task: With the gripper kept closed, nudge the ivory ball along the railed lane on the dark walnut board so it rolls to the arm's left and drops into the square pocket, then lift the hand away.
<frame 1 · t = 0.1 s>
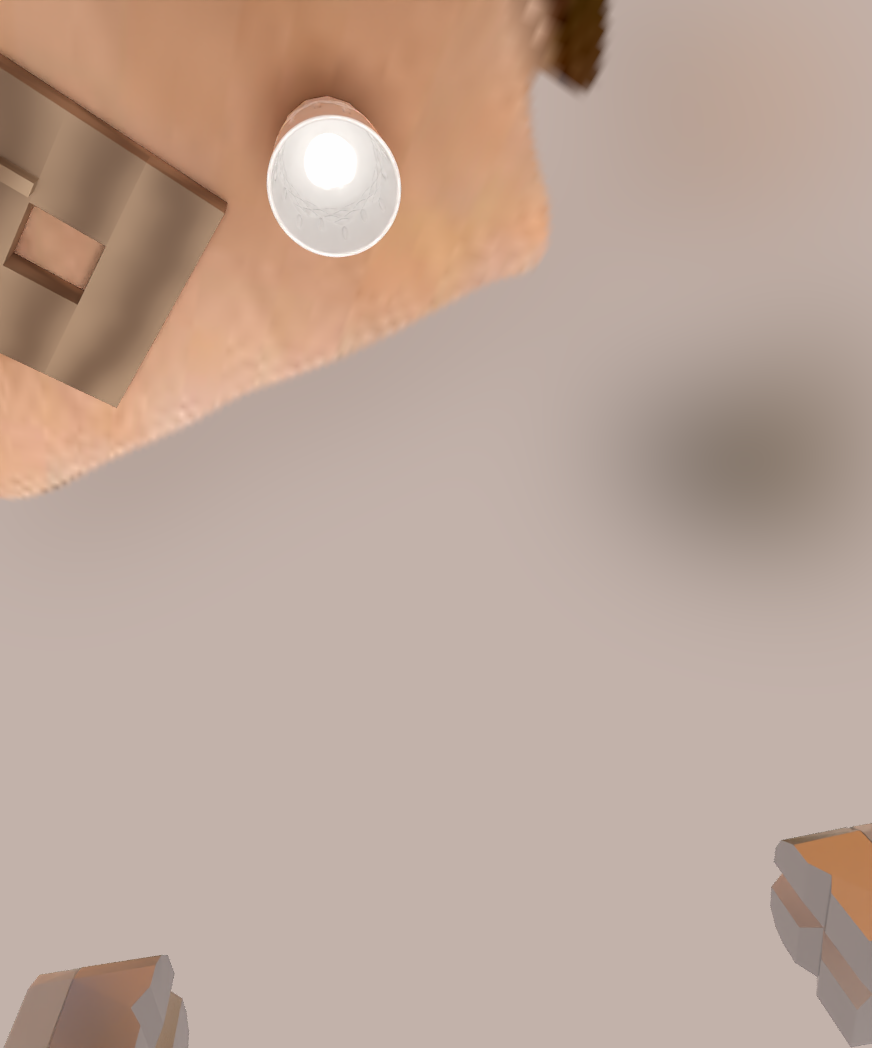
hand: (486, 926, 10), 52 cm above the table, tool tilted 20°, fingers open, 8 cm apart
white cup: (327, 150, 50), on the table
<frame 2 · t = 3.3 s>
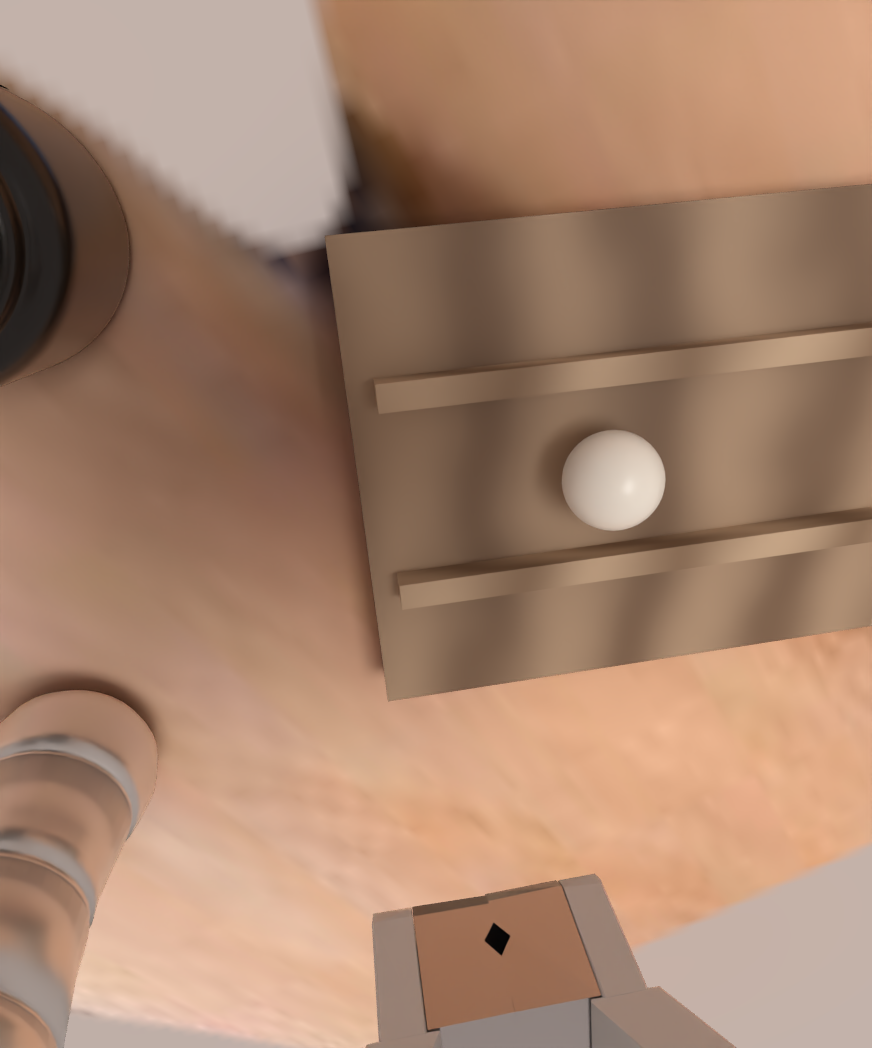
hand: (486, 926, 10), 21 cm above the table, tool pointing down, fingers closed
ball: (612, 480, 26), point 4 cm above the table, touching board
board: (735, 429, 30), on the table
plastic bottle: (91, 730, 32), on the table
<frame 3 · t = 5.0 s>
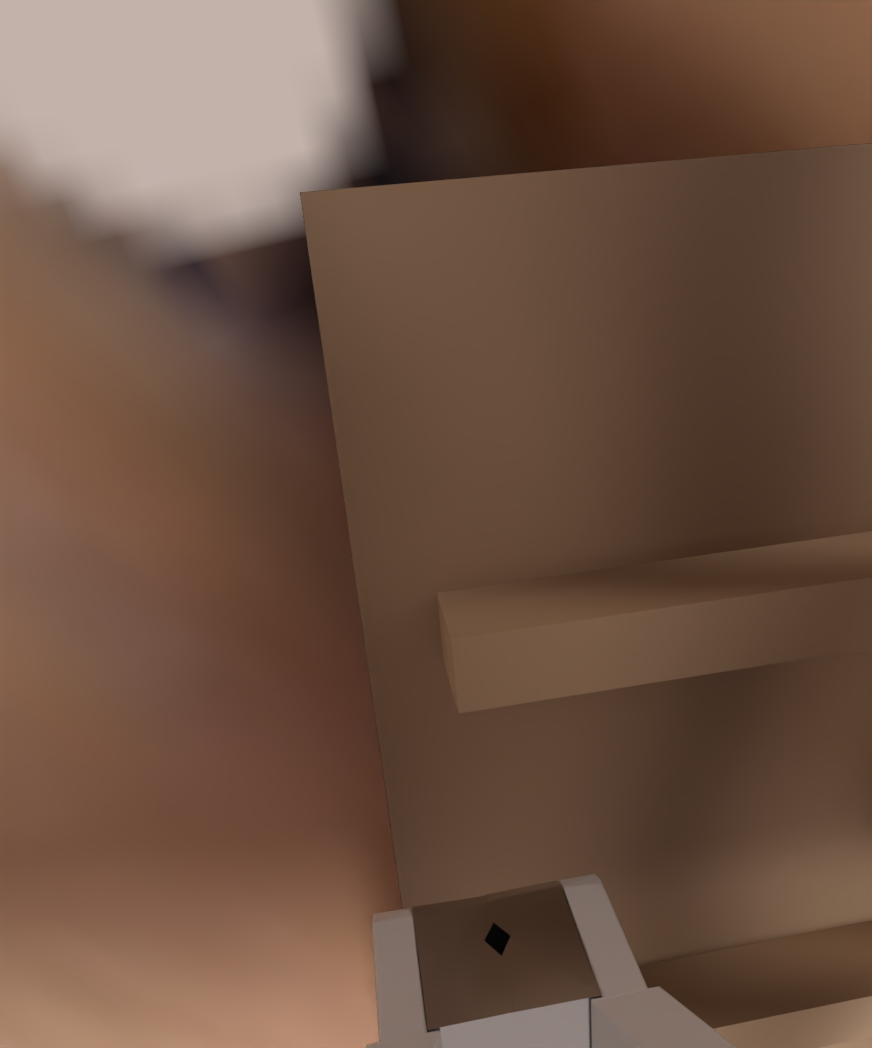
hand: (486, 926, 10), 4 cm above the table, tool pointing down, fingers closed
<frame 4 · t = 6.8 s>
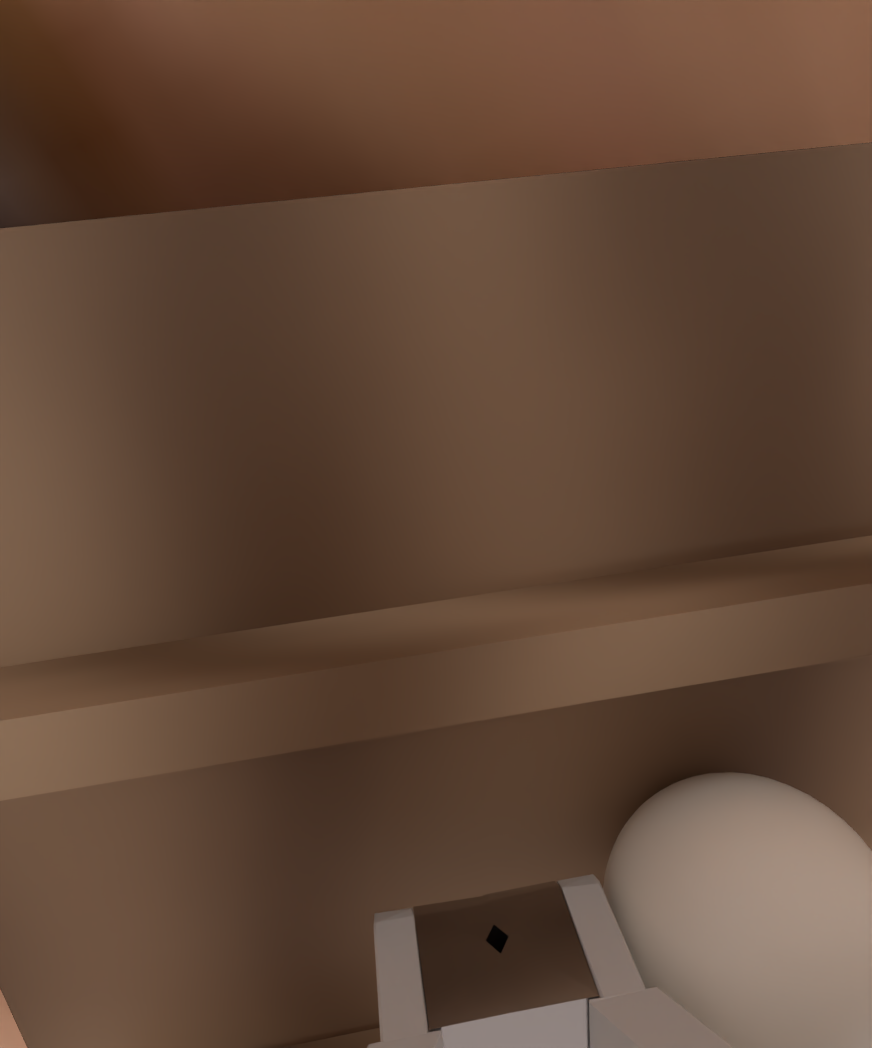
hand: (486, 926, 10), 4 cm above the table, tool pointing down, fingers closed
ball: (745, 919, 9), point 4 cm above the table, tilted 39°, touching board
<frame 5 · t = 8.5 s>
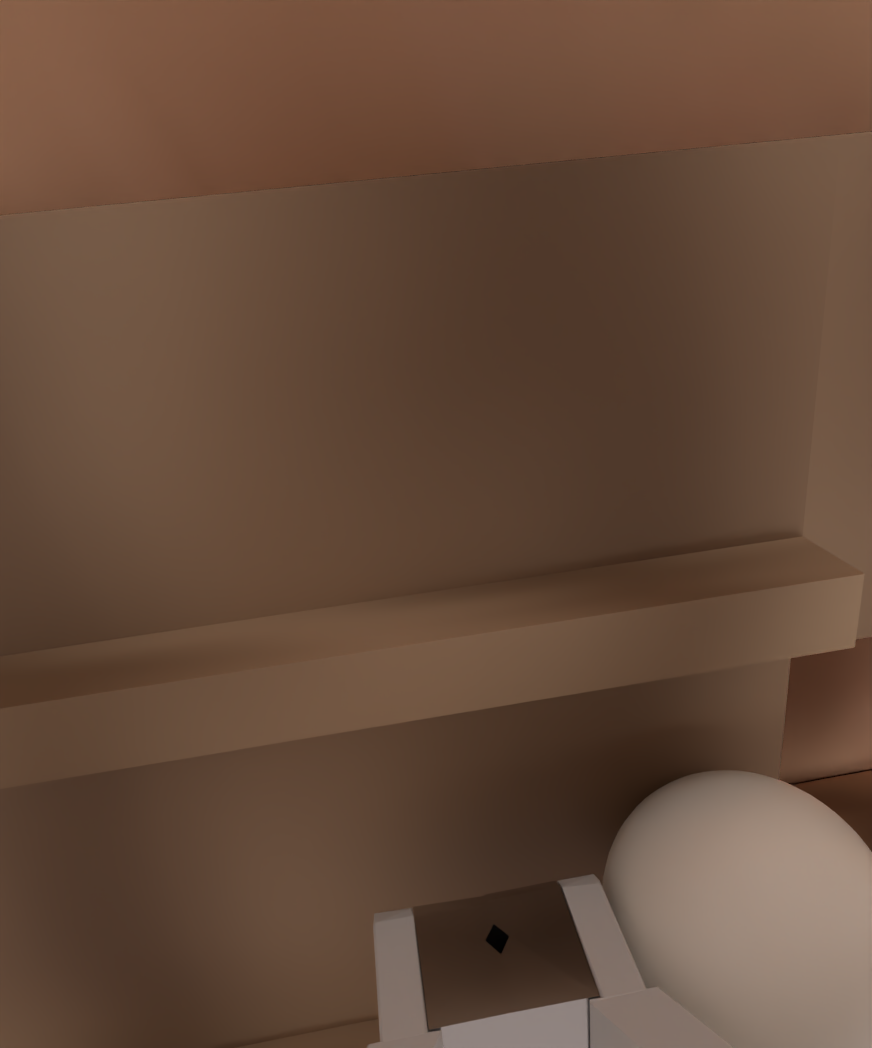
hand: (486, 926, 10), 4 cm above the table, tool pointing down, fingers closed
ball: (743, 916, 9), point 4 cm above the table, tilted 12°, touching board
board: (409, 746, 13), on the table
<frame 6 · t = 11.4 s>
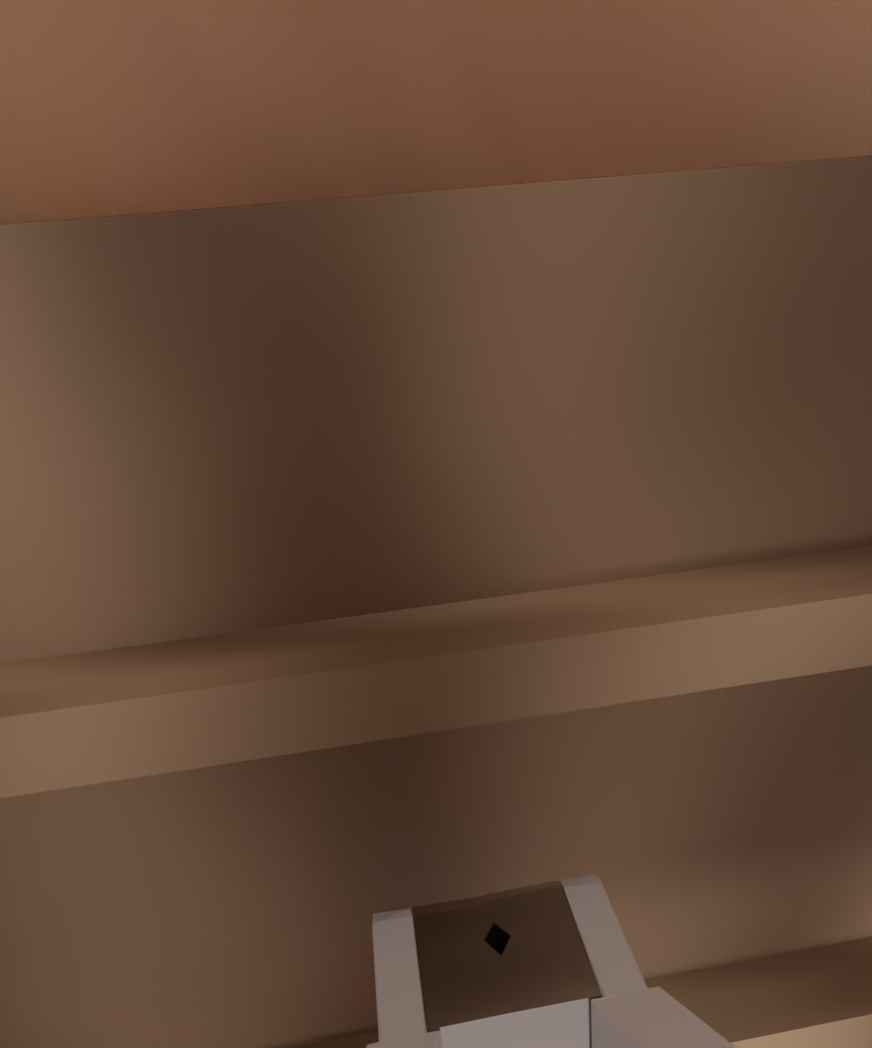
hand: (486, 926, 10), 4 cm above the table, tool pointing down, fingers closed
board: (627, 723, 13), on the table
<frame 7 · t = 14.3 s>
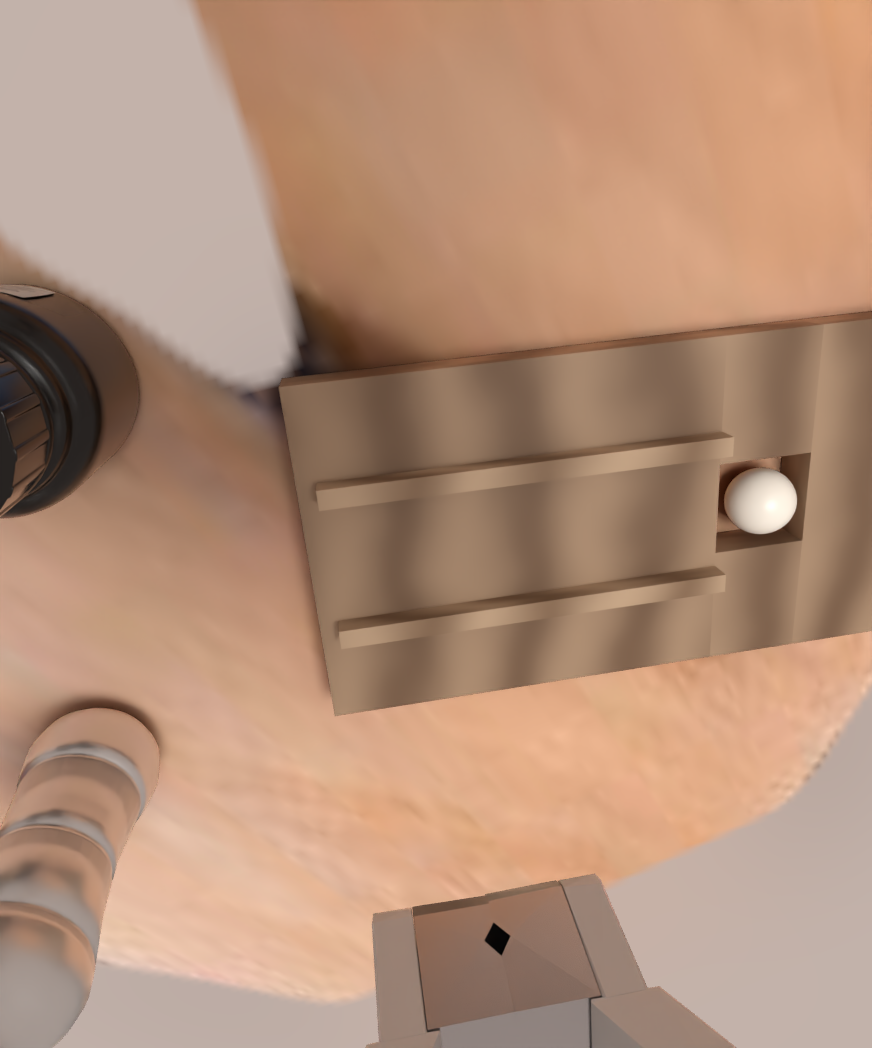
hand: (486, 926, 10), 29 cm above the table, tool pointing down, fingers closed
ball: (759, 500, 39), point 2 cm above the table, tilted 157°
ink bottle: (43, 383, 34), on the table
board: (600, 508, 40), on the table
plastic bottle: (108, 738, 41), on the table
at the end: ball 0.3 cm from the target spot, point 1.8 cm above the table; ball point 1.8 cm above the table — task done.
